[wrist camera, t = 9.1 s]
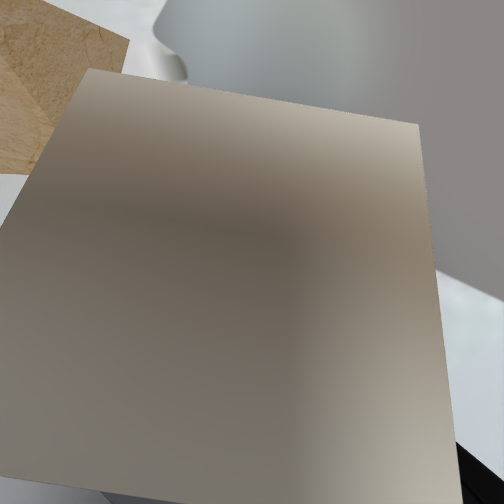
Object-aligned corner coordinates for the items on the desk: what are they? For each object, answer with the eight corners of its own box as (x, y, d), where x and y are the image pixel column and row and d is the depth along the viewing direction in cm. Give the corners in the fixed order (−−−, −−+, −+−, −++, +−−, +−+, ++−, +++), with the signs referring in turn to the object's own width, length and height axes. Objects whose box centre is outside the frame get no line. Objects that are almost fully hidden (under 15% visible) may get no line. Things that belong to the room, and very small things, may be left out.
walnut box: (264, 443, 15) (467, 545, 3) (155, 426, 15) (-126, 456, 3) (276, 333, 18) (418, 124, 5) (180, 318, 18) (87, 67, 5)
